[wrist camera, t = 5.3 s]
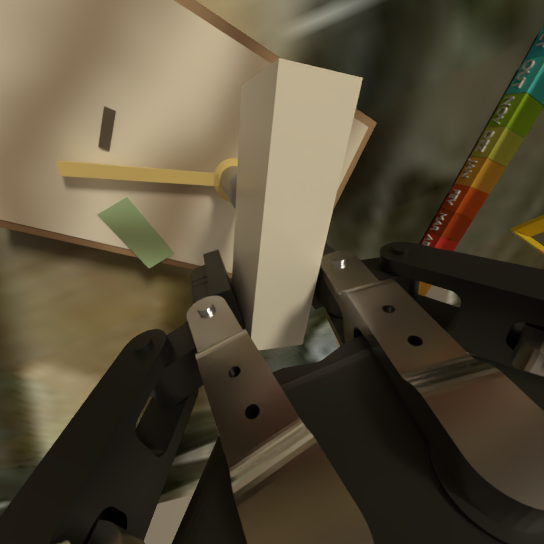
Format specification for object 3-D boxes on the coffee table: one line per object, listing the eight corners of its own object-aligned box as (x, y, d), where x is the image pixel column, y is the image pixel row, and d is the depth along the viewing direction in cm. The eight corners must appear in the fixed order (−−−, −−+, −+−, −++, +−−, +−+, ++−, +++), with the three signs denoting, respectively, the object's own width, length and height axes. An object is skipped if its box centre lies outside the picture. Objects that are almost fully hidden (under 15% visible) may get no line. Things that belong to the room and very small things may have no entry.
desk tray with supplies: (356, 123, 19) (378, 122, 17) (280, 282, 25) (290, 298, 22) (13, -96, 11) (-31, -154, 9) (6, 218, 16) (-23, 232, 14)
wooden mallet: (259, 108, 15) (373, 80, 6) (249, 240, 18) (309, 343, 9) (37, 71, 11) (-444, -112, 3) (79, 239, 15) (-66, 394, 6)
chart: (541, 20, 20) (1125, -156, 8) (560, 39, 21) (1088, -84, 9) (371, 323, 32) (491, 448, 20) (390, 325, 33) (513, 443, 21)
